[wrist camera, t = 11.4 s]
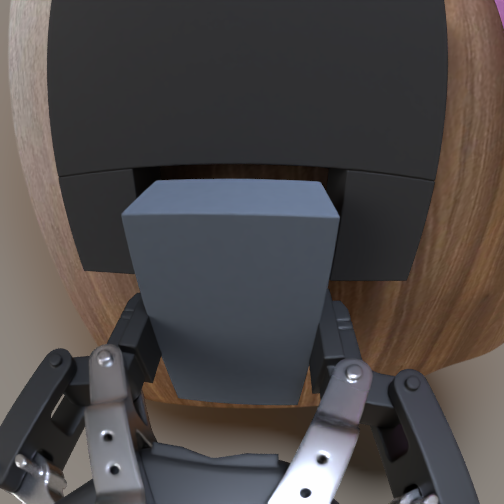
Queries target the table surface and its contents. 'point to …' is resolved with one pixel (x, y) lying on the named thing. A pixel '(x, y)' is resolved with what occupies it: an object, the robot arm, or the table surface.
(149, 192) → the pad
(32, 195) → the table surface
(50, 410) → the robot arm
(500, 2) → the bracket
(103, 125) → the base pad
